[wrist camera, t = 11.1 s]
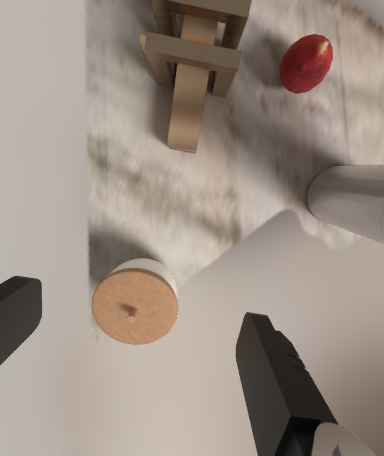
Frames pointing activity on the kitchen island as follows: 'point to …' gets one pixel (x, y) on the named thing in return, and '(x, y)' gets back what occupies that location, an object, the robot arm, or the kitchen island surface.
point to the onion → (306, 63)
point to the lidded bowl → (136, 302)
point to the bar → (190, 89)
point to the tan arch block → (195, 51)
